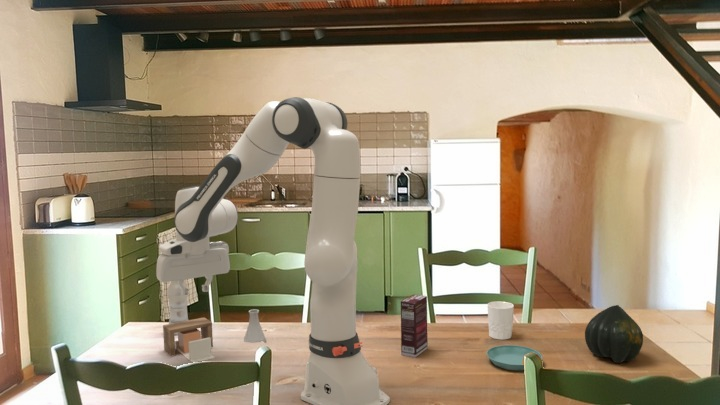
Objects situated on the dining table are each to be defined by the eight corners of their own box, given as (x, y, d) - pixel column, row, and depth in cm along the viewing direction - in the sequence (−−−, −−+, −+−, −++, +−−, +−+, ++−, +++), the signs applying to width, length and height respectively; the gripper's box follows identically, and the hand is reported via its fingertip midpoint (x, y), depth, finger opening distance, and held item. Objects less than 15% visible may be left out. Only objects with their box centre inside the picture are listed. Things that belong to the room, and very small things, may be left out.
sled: (215, 360, 169) (214, 340, 168) (193, 365, 165) (192, 345, 165) (195, 345, 181) (194, 327, 181) (174, 350, 177) (173, 331, 177)
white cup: (482, 334, 189) (482, 303, 188) (502, 330, 192) (502, 300, 191) (497, 342, 182) (498, 309, 181) (518, 338, 185) (519, 306, 184)
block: (201, 349, 175) (200, 331, 175) (184, 353, 173) (183, 334, 172) (195, 345, 179) (194, 327, 179) (178, 348, 177) (177, 330, 176)
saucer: (476, 358, 170) (476, 349, 169) (520, 351, 175) (520, 342, 175) (506, 377, 156) (506, 367, 156) (553, 369, 161) (553, 359, 161)
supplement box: (413, 346, 180) (413, 293, 178) (428, 348, 177) (428, 295, 175) (400, 355, 172) (399, 300, 170) (415, 358, 170) (415, 303, 168)
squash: (600, 350, 158) (632, 305, 160) (566, 335, 173) (596, 293, 175) (634, 381, 162) (665, 336, 164) (598, 363, 176) (627, 322, 178)
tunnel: (213, 350, 178) (211, 322, 177) (171, 359, 171) (169, 330, 170) (205, 344, 183) (204, 317, 182) (164, 353, 176) (163, 325, 175)
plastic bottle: (164, 337, 190) (161, 275, 187) (176, 331, 196) (173, 270, 194) (182, 339, 188) (179, 276, 186) (194, 332, 194) (191, 271, 192)
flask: (269, 338, 188) (268, 307, 187) (263, 346, 180) (262, 314, 179) (246, 338, 188) (245, 307, 187) (239, 346, 181) (238, 313, 180)
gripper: (223, 238, 176) (225, 285, 178) (153, 246, 164) (155, 296, 166) (232, 241, 171) (234, 289, 172) (160, 250, 159) (163, 301, 161)
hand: (195, 293), depth 169 cm, fingers open, 5 cm apart
